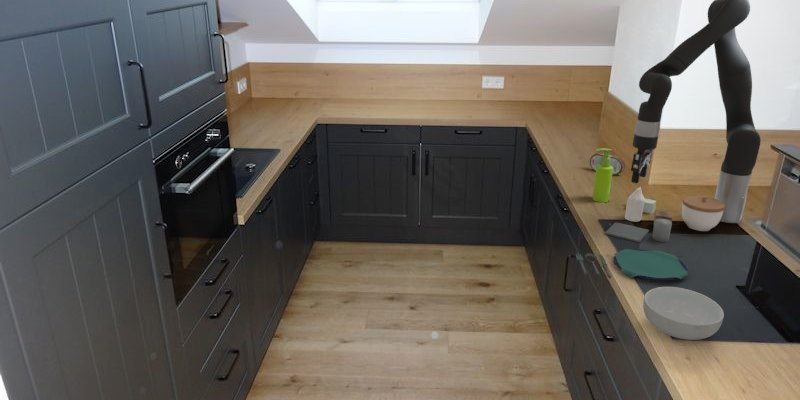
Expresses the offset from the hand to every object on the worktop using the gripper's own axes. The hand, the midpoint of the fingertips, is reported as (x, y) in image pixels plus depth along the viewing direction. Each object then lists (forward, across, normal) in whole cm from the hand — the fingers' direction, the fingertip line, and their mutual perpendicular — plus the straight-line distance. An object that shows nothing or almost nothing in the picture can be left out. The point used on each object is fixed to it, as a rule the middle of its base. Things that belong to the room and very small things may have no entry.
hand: (638, 179), depth 196 cm
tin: (+15, +47, +25) cm, 55 cm away
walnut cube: (+14, -2, -10) cm, 18 cm away
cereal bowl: (+14, -65, -30) cm, 73 cm away
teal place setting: (+15, -38, -11) cm, 43 cm away
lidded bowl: (+14, +6, -20) cm, 26 cm away
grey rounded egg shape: (+14, -12, -13) cm, 23 cm away
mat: (+14, -14, -3) cm, 20 cm away
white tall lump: (+15, 0, 0) cm, 15 cm away
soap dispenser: (+15, +12, +16) cm, 24 cm away
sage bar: (+15, +11, 0) cm, 18 cm away
